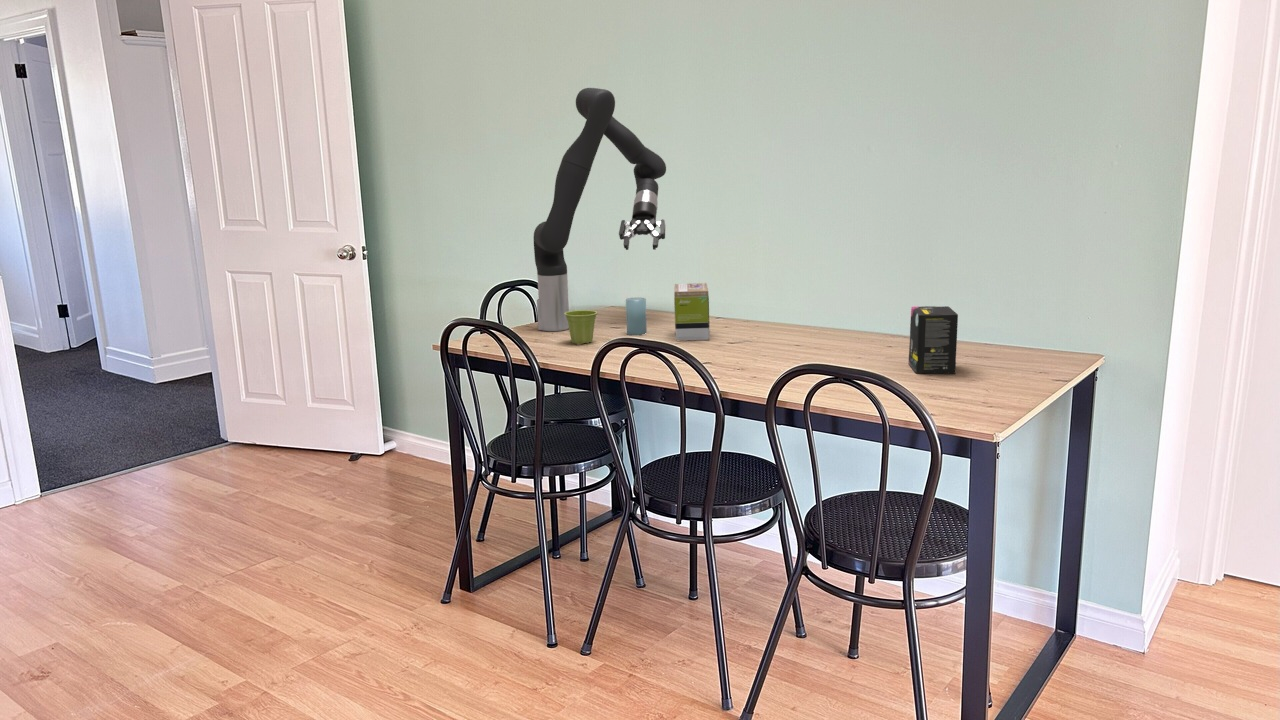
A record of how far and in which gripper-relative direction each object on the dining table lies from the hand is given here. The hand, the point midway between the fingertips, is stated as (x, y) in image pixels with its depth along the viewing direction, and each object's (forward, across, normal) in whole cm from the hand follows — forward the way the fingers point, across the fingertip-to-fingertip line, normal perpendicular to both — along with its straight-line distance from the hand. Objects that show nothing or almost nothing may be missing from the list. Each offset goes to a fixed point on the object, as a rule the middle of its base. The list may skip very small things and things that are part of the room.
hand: (640, 248), depth 282 cm
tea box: (+28, +17, +7) cm, 33 cm away
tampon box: (+55, +80, -20) cm, 99 cm away
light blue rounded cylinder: (+25, 0, +9) cm, 27 cm away
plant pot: (+35, -14, 0) cm, 37 cm away
